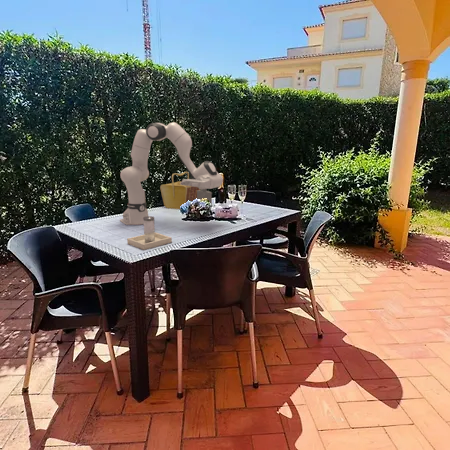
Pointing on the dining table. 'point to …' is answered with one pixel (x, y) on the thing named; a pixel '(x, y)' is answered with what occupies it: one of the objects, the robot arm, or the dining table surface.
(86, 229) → the dining table surface
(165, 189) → the picnic basket
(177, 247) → the dining table surface
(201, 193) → the hip flask
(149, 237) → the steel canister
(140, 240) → the sand tray
